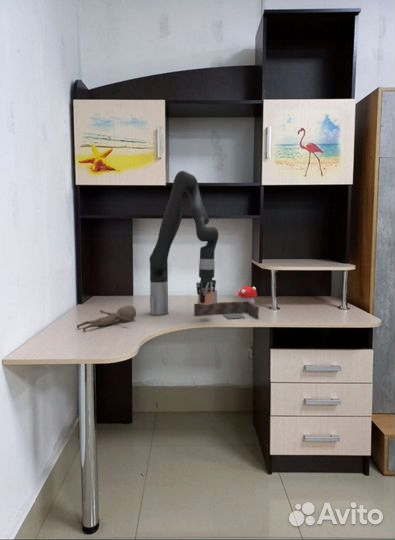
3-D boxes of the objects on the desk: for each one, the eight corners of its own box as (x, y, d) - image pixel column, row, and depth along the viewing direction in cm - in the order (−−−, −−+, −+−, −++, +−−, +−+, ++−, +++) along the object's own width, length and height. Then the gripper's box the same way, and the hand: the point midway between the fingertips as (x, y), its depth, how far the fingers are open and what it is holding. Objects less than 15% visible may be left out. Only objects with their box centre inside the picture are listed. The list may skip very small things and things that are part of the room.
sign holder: (197, 301, 253) (197, 285, 252) (200, 301, 254) (200, 285, 252) (215, 308, 235) (215, 290, 234) (218, 308, 236) (218, 290, 235)
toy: (97, 343, 182) (151, 323, 202) (94, 327, 180) (149, 307, 201) (68, 332, 200) (120, 314, 221) (65, 316, 199) (118, 300, 219)
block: (207, 305, 204) (207, 294, 203) (198, 303, 207) (198, 292, 206) (213, 303, 208) (213, 292, 207) (204, 301, 211) (204, 291, 211)
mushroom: (235, 308, 233) (236, 287, 232) (239, 304, 244) (240, 284, 242) (255, 309, 230) (255, 288, 228) (258, 305, 240) (258, 284, 239)
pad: (227, 319, 209) (227, 318, 209) (222, 315, 218) (222, 314, 218) (244, 318, 211) (244, 317, 211) (239, 314, 220) (239, 313, 220)
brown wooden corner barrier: (200, 322, 204) (200, 310, 203) (194, 315, 219) (194, 303, 218) (258, 318, 210) (258, 306, 209) (248, 312, 225) (248, 301, 224)
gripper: (204, 269, 197) (203, 305, 199) (221, 267, 209) (220, 300, 211) (191, 268, 202) (191, 303, 204) (208, 266, 213) (207, 298, 215)
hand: (205, 301), depth 207 cm, fingers closed on block, 5 cm apart
